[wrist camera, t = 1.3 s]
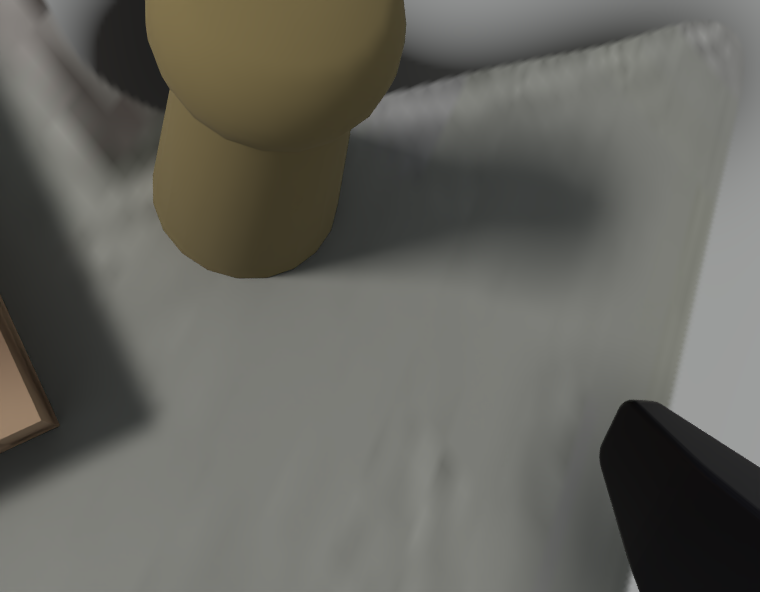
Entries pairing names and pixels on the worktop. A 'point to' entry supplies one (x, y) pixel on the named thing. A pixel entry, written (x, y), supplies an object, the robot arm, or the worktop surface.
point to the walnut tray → (20, 391)
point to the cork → (263, 120)
